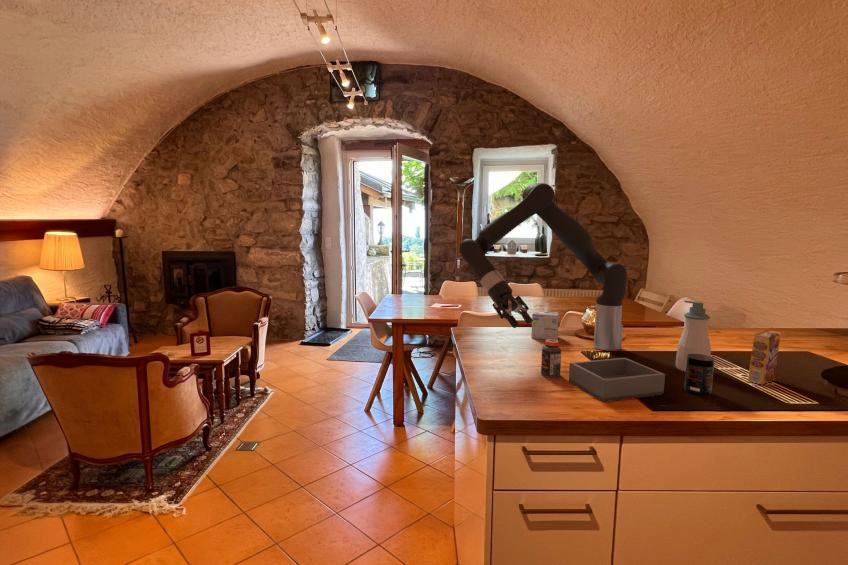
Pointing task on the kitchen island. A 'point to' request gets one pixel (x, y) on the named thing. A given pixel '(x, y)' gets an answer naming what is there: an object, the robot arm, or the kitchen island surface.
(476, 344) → the kitchen island surface
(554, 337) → the light bulb box
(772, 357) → the candy box
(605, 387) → the tote
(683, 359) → the soap bottle
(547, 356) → the pill bottle
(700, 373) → the supplement container
